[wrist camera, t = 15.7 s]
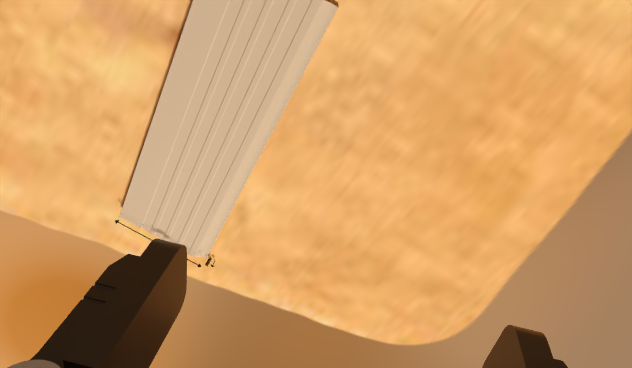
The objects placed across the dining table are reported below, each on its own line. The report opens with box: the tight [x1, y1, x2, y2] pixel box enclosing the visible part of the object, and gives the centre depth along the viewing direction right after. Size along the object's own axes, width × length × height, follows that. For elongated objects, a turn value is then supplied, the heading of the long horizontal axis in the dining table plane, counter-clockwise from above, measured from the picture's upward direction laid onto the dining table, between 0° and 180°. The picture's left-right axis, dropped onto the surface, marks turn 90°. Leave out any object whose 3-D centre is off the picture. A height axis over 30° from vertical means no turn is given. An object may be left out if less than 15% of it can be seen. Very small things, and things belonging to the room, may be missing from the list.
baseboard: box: [115, 0, 338, 267], centre depth 42 cm, size 31×3×12 cm
